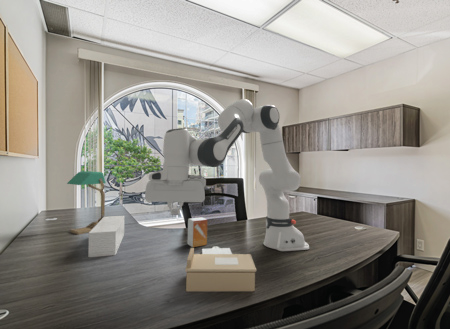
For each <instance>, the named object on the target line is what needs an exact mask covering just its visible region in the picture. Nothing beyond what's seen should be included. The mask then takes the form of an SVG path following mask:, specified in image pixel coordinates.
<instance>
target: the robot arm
mask: <svg viewBox="0 0 450 329" xmlns="http://www.w3.org/2000/svg"><path fill="white" fill-rule="evenodd" d="M279 122H280V112H279V110H278V108H277V107H276V106H275V105H273V104H265V105H262V106H257V107H254V105H253V104H252V102H251V101H250V100H248V99H244V98H242V99H237V100H236V101H234V102H233V103H231V104H230V105H228V106H227V107H226V108H225V109H223V110H222V111H221V112H220V114H219V116H217V124H218V128H219V129H220V133H218V135H216V136H213V137H209V138H201V139H199V138H197V137H195V136H193V135H192V134H191V133H190V132H189V130H188V129H187V128H186V127H185V128H184V127H179V128H178V127H177V128H173V129H168V130H166V132H165V133H164V138H163V147H162V148H163V150H162V153H163V164H162V170H157V171H155V172H151V173H150V174H148V180H149V181H148V182H146V186H145V191H144V199H145V201H146V202H149V203H151V202H152V203H157V202H158V203H160V202H161V203H167V206H168V209H169V210H170V216H180V214H181V209H182V207H183V206H184V203H203V202H204V201H205V197H206V196H205V195H206V194H205V188H206V185H207V179H206V178H205V177H204V176H203V175H201V174H198V175H197V174H196V175H195V174H190V166H196V167H197V166H198V167H200V166H201V167H202V166H203V167H210V168H217V167H219V166H221V165H222V164H223V163H224V161H225V159H226V158H227V156H228V153H229V151H230V149H231V148H232V147H233V146H234V144H235V143H236V141H237V140H238V138H239V137H240V136H241V134H242V133H243V134H251V133H259V139H260V140H259V141H260V146H261V151H262V156H263V160H264V161H265V162H266V163H267V165H269V168H267V169H263V170H262V171H261V172H260V173H259V176H258V181H259V182H258V183H259V184H260V185H261V186H262V188H263V190H264V194H265V198H266V217H265V228H266V230H265V236H264V240H263V245H264V246H265V247H267V248H270V249H273V250H277V251H280V252H292V251H293V252H294V251H304V250H305V251H306V250H310V245H309V243H308V242H306V241H305V237H304V234H303V233H302V231H300V230H299V229H298V228H296V227H295V226H294V225H296V224H297V221H296V220H295V219H293V218H291V217H290V203H289V202H290V201H289V200H288V199H287V197H286V196H285V193H284V192H293V191H294V192H295V191H297V190H298V189H299V188H300V186H301V184H302V178H301V175H300V173H299V172H298V171H296V170H295V169H294V167H293V166H292V165H291V163H290V160H289V159H288V156H287V155H286V149H285V144H284V140H283V139H284V138H283V136H282V131H281V128H280V125H279ZM173 203H178V204H177V205H178V206H179V207H178V208H175V209H174V207H173Z"/></svg>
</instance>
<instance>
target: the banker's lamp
mask: <svg viewBox="0 0 450 329" xmlns="http://www.w3.org/2000/svg"><path fill="white" fill-rule="evenodd" d="M66 184H67V185H76V186H84V185H87V186H88V187H89V188H91V189H94V190H96V191H98V192H99V193H100V196H101V198H100V200H101V202H100V218H98V220H97V221H93V222H91V223H90V224H88V225H86V226H85V227H80V228H75V229H72V228H71V229H70V233H72V234H75V235H83V234H87V233H88V234H89V232H90V231H91V230H92V229H93V228H94V227H95V226H96V225H97V224H98V223H99V221H100V220H101V219H102V218H103V217H105V210H106V209H105V206H106V203H105V201H106V200H105V198H106V197H105V196H106V195H105V192H104V189H105V184H106V179H105V175H104V173H103V172H101V171H89V170H88V171H85V170H84V171H78V172H77V173H76V174H75V175H74V176H73V177H72V178H70V180H69V181H68V182H67V183H66ZM94 185H100V186H101V188H99V187H96V186H94Z"/></svg>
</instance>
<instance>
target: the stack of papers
mask: <svg viewBox="0 0 450 329" xmlns="http://www.w3.org/2000/svg"><path fill="white" fill-rule="evenodd" d="M124 236H125V215H115V216H113V215H111V216H104V217H103V218H102V219H101V220H100V221H99V223H98V224H97V225H96V226H95V227H94V228H93V229H92V230H91V231H90V232H88V252H87V253H88V255H87V256H88V258H98V257H109V256H116V254H117V252H118V250H119V247H120V246H121V243H122V241H123V238H124Z"/></svg>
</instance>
